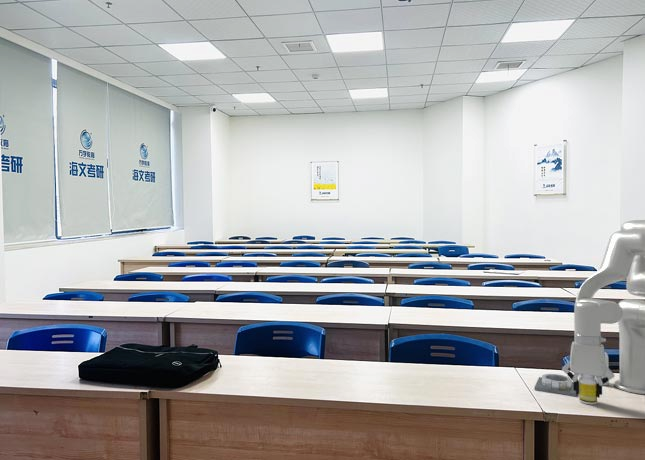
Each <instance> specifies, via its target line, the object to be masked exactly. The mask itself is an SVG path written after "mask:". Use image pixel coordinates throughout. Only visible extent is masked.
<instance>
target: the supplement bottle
mask: <svg viewBox="0 0 645 460" xmlns="http://www.w3.org/2000/svg"><path fill="white" fill-rule="evenodd" d="M581 376H582V377H580V378H579V377H578V378H577V379H578V394H577V395H578V398H577V399H578V401H579V402H580V403H582V404H585V405H596V404H597V403H598V397H597V381H596V380H595V379H594V378H595V376H591V375H586V374H584V375H583V374H581Z"/></svg>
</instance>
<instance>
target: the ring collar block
mask: <svg viewBox="0 0 645 460" xmlns="http://www.w3.org/2000/svg"><path fill="white" fill-rule="evenodd" d="M534 391H538V392H545V393H551V394H557V395H558V394H559V395H565V396H568V397H569V396H571V397H577V395H578V394H576V391H574V389H573V381H572V379H571V378H570V377H569V376H568V375H567V376H566V375H564V374H559V373H545V374H542V376H541V377H540V376H539V377H538V379H537V381H536V383H535V385H534Z"/></svg>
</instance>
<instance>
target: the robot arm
mask: <svg viewBox="0 0 645 460" xmlns="http://www.w3.org/2000/svg"><path fill="white" fill-rule="evenodd" d="M625 279H626V285H625V288H626V291H627V292H628V293H629V294H630V295H633V296H638V297H641V298H645V219H640V220H639V219H637V220H636V219H635V220H628V221H625V222H624V223H622V225H621V226H620V230H618V231H615V232H613V233H612V234H611V235H610V237H609V240H608V243H607V247H606V249H605V252H604V255H603V258H602V261H601V264H600V267H599V269H598V270H596V272H594V273H592V274H591V275H590V276H589V277H587V279H586V280H585V281H583V282H582V284H581V285H580V286H579V289H578V292H577V294H576V297H575V300H574V310H573V314H574V315H573V316H574V317H573V318H574V319H573V320H574V321H573V322H574V324H573V325H574V326H573V327H574V341H572V342H571V345H570V354H569V355H570V356H569V361H568V362H567V363H566V364H565V365H563V366H562V367H561V371H562V372H564V374H566V375H567V377H569V378H571V379H572V382H573V389H574V391H576V394H577V395H578V379H579V374H583V375H584V374H586V375H591V376H596V378H597V381H598V383H597V399H600V398H601V397H600V396H603V386H604V385H603V384H605V383H606V382H607V381H608V380H609V381H610V380H612V379H614V378H615V373H614V372H613V371H612V370H611V369H610V368H608V367H607V366H606V362H605V353H606V352H605V346H604V344H602V343H606V342H607V338H606V337H602V334H601V333H602V331H601V326H602V325H601V324H604V325H605V324H606V325H607V324H609V325H610V324H611V325H612V324H616V323H617V324H618V332H619V333H618V335H619V339H618V340H619V345H618V347H619V348H618V349H619V350H618V351H619V379H618V380H615V381H614V386H615V388H617V389H619V390H621V391H624V392H628V393H633V394H638V395H645V300H644V299H636V298H626V299H625V298H624V299H622V300H620V301H619V302H615V301H612V300H605V299H600V298H594V296H595V294H596V293H597V292H598V291H599V290H601V289H602V288H603V287H606V286H608V285H611V284H615V283H619V282H621V281H623V280H625ZM605 371H606V373H607V374H608V375H607V376H605V377H604V378H602V376H604V375H605Z"/></svg>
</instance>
